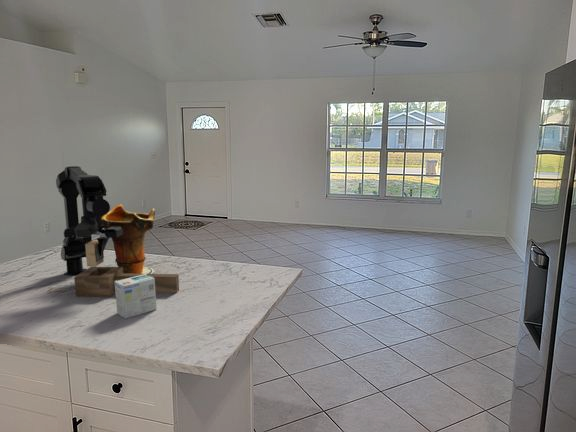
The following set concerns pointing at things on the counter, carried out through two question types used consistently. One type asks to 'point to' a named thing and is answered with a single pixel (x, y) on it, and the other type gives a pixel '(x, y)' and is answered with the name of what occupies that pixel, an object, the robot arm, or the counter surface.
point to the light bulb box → (135, 295)
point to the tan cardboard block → (93, 254)
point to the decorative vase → (130, 238)
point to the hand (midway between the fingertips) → (95, 255)
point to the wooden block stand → (103, 278)
